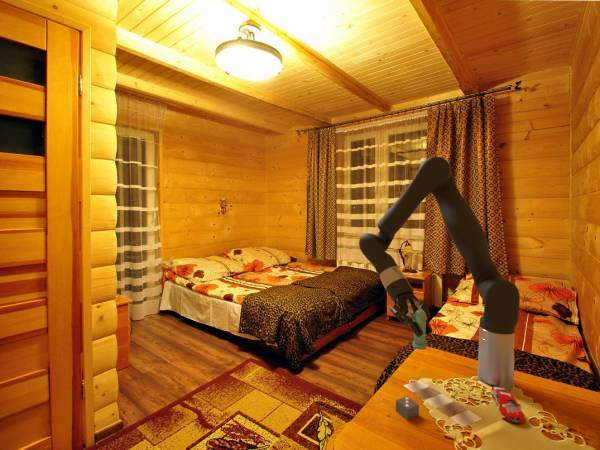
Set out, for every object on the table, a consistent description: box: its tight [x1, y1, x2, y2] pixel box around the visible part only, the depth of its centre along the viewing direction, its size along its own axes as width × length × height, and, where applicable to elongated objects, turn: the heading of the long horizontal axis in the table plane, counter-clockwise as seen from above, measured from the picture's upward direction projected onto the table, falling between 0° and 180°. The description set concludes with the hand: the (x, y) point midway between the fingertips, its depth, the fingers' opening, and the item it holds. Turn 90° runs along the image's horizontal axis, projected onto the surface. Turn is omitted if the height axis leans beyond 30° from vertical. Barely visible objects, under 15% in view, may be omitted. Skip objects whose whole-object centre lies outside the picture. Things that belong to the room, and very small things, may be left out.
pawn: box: [412, 310, 427, 351], centre depth 91 cm, size 4×4×11 cm
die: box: [395, 395, 420, 421], centre depth 80 cm, size 4×4×4 cm
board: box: [403, 379, 483, 428], centre depth 85 cm, size 8×20×1 cm, turn 27°
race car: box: [490, 387, 526, 425], centre depth 84 cm, size 13×5×4 cm, turn 161°
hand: (425, 334), depth 89 cm, fingers closed on pawn, 3 cm apart
